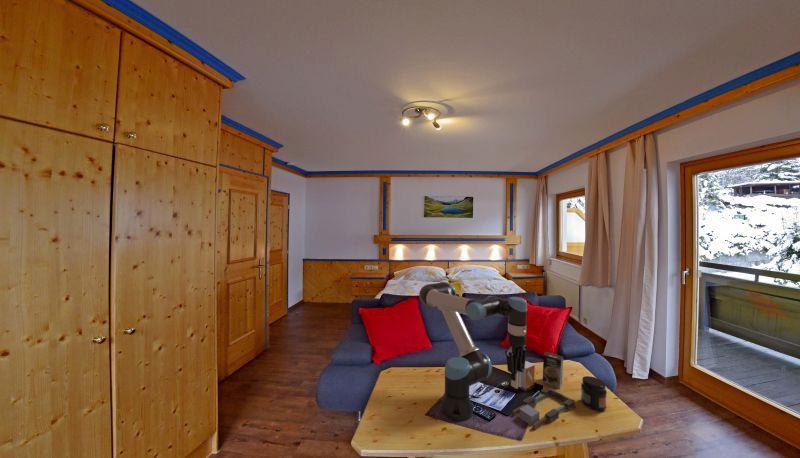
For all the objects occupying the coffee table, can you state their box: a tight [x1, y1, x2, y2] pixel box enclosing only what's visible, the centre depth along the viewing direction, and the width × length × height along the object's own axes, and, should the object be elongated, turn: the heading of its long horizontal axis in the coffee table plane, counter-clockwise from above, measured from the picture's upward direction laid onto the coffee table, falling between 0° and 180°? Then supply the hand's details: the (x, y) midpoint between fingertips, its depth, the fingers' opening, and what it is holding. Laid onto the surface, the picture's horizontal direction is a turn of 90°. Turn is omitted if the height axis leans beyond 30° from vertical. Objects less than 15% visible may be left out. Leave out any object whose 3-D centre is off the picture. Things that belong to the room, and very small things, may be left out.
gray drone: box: [511, 386, 576, 431], centre depth 134 cm, size 14×32×3 cm, turn 123°
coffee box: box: [542, 351, 564, 390], centre depth 157 cm, size 9×6×16 cm
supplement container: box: [580, 375, 608, 411], centre depth 139 cm, size 10×10×12 cm
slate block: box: [518, 405, 540, 427], centre depth 127 cm, size 6×6×4 cm
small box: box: [521, 360, 536, 389], centre depth 153 cm, size 8×6×13 cm
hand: (515, 386), depth 122 cm, fingers closed
